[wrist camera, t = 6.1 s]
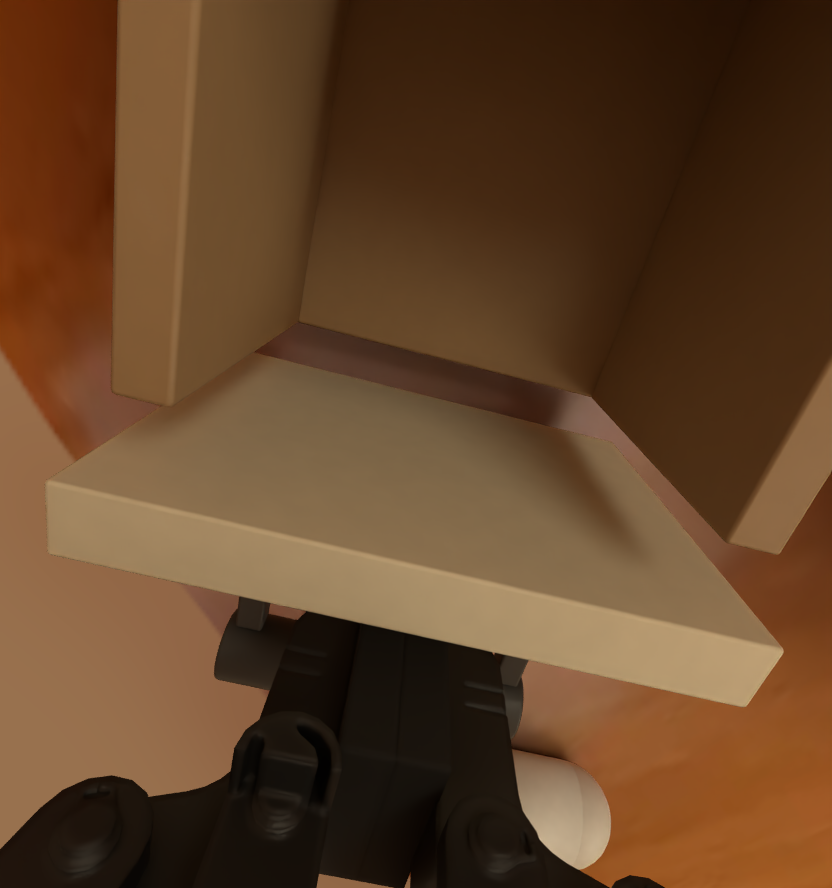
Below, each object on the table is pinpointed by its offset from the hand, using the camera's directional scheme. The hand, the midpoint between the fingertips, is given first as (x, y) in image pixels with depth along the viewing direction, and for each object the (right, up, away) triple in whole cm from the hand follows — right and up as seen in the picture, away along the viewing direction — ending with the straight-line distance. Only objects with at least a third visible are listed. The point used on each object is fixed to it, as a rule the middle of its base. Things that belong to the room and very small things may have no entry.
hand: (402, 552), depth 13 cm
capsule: (+4, -10, +8) cm, 13 cm away
